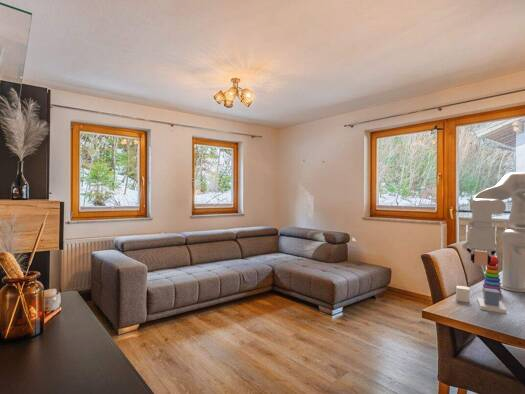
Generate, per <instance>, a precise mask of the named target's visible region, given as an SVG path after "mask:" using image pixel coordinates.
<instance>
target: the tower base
mask: <svg viewBox="0 0 525 394" xmlns="http://www.w3.org/2000/svg"><path fill="white" fill-rule="evenodd" d="M476 300H477V304H478V306H479V309H480V310H481V311H482V310H484V311H488V312H496V313H500V314H507V309H506V307H505V305H504V303H503V301H502V300H500V294H499V292H498V290H496V289H489V288H484V291H483V297H482V298H480V297H477V298H476Z"/></svg>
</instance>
